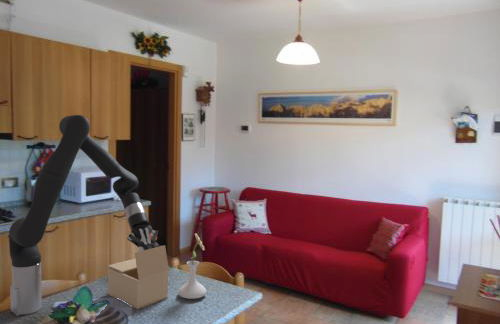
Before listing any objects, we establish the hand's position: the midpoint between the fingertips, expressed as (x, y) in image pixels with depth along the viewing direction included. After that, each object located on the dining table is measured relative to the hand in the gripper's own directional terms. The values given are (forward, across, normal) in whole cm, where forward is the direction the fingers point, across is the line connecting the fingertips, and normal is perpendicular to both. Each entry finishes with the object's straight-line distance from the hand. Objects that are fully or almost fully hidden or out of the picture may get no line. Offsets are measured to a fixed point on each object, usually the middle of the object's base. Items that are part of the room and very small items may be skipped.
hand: (149, 254), depth 154 cm
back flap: (-3, -2, +15) cm, 15 cm away
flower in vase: (+17, +17, +10) cm, 26 cm away
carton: (+8, -1, +19) cm, 20 cm away
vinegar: (-2, +12, +30) cm, 32 cm away
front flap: (+3, 0, +1) cm, 3 cm away
